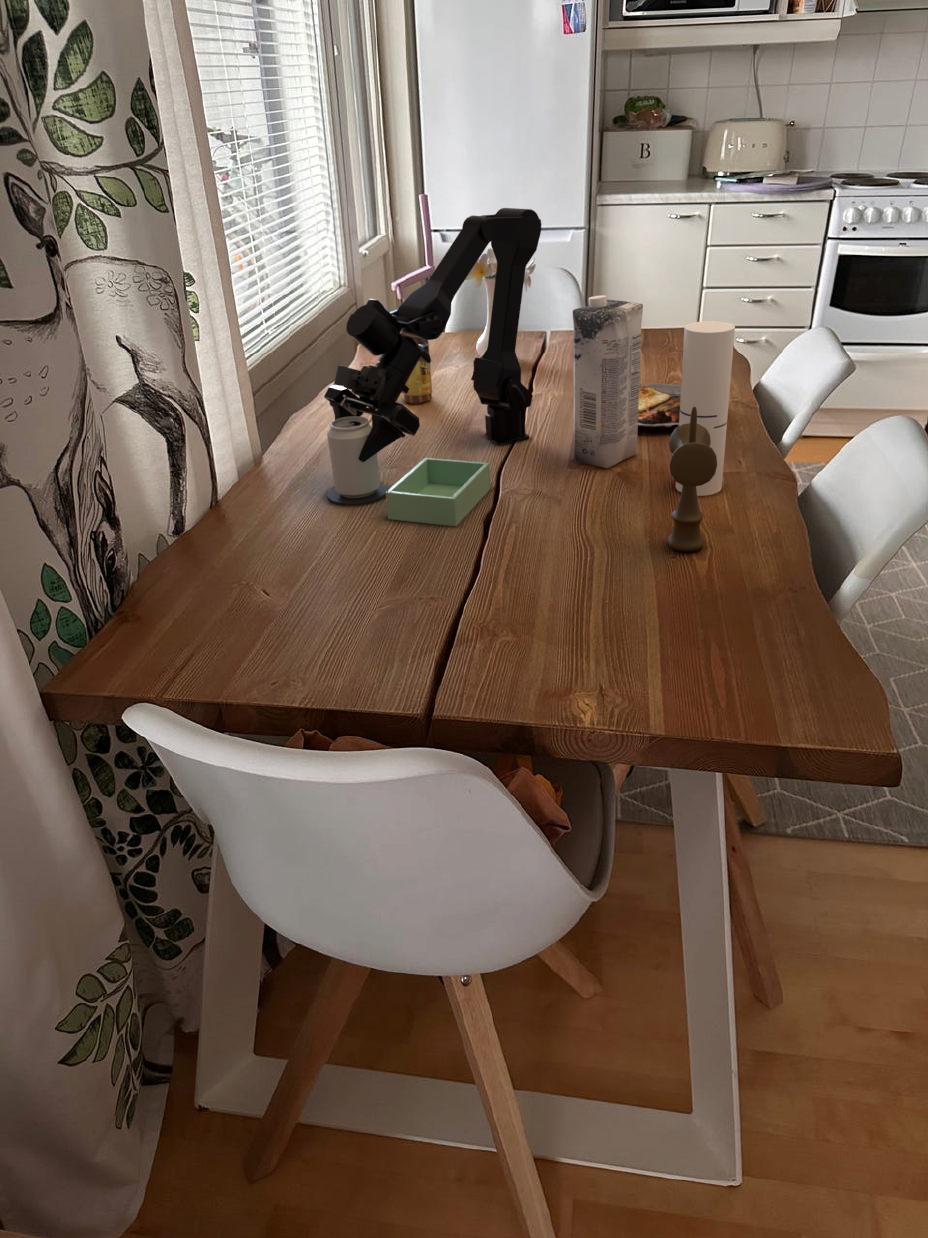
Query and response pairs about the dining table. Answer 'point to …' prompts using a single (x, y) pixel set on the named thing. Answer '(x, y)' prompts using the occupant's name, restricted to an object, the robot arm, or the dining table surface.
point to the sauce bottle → (419, 379)
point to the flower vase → (491, 288)
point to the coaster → (345, 501)
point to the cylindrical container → (708, 387)
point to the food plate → (659, 405)
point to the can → (352, 457)
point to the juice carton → (606, 380)
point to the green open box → (438, 491)
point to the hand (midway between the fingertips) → (346, 455)
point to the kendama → (690, 480)
